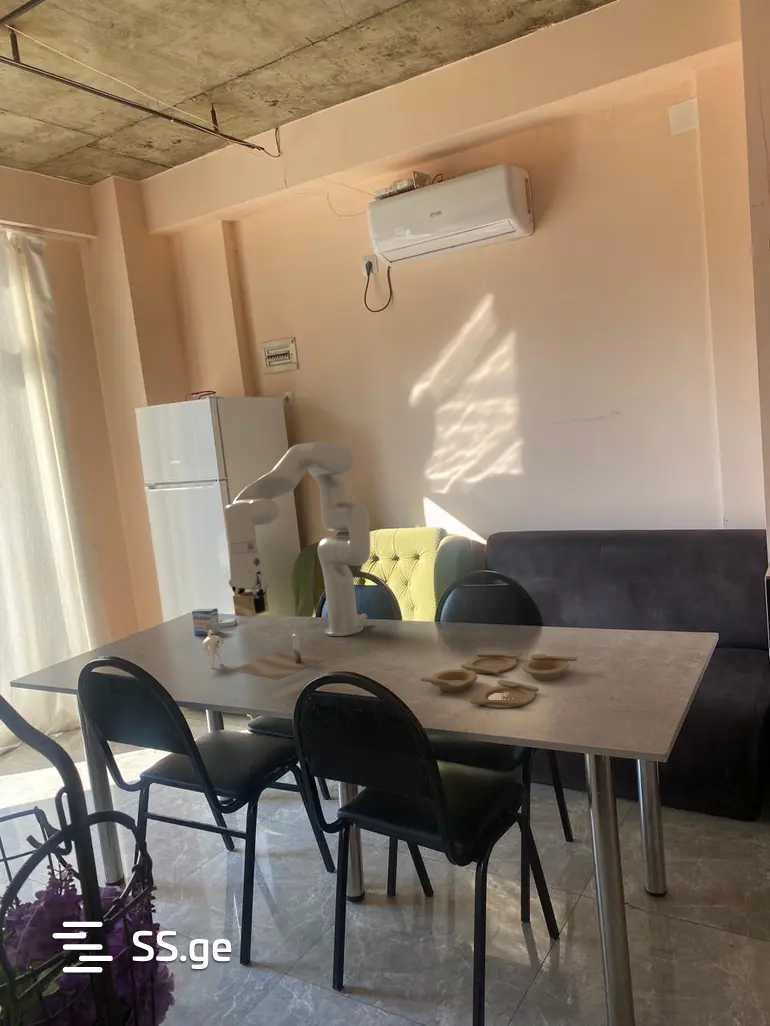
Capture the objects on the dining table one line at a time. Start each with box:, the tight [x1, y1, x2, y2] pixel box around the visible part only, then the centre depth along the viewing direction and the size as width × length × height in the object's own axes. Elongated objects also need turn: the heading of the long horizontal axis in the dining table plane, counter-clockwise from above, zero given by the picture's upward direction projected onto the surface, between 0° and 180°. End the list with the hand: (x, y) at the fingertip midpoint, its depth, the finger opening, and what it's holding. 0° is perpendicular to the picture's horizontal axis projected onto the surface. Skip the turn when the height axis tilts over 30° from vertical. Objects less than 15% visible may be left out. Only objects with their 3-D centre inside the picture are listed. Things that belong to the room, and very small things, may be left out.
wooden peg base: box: [230, 633, 326, 680], centre depth 212 cm, size 18×20×10 cm
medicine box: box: [191, 608, 221, 636], centre depth 264 cm, size 8×4×9 cm, turn 73°
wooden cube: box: [232, 589, 270, 618], centre depth 210 cm, size 7×7×6 cm
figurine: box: [201, 630, 224, 669], centre depth 217 cm, size 7×4×12 cm, turn 138°
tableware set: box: [420, 652, 578, 709], centre depth 184 cm, size 35×29×4 cm
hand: (251, 610), depth 210 cm, fingers closed on wooden cube, 6 cm apart
